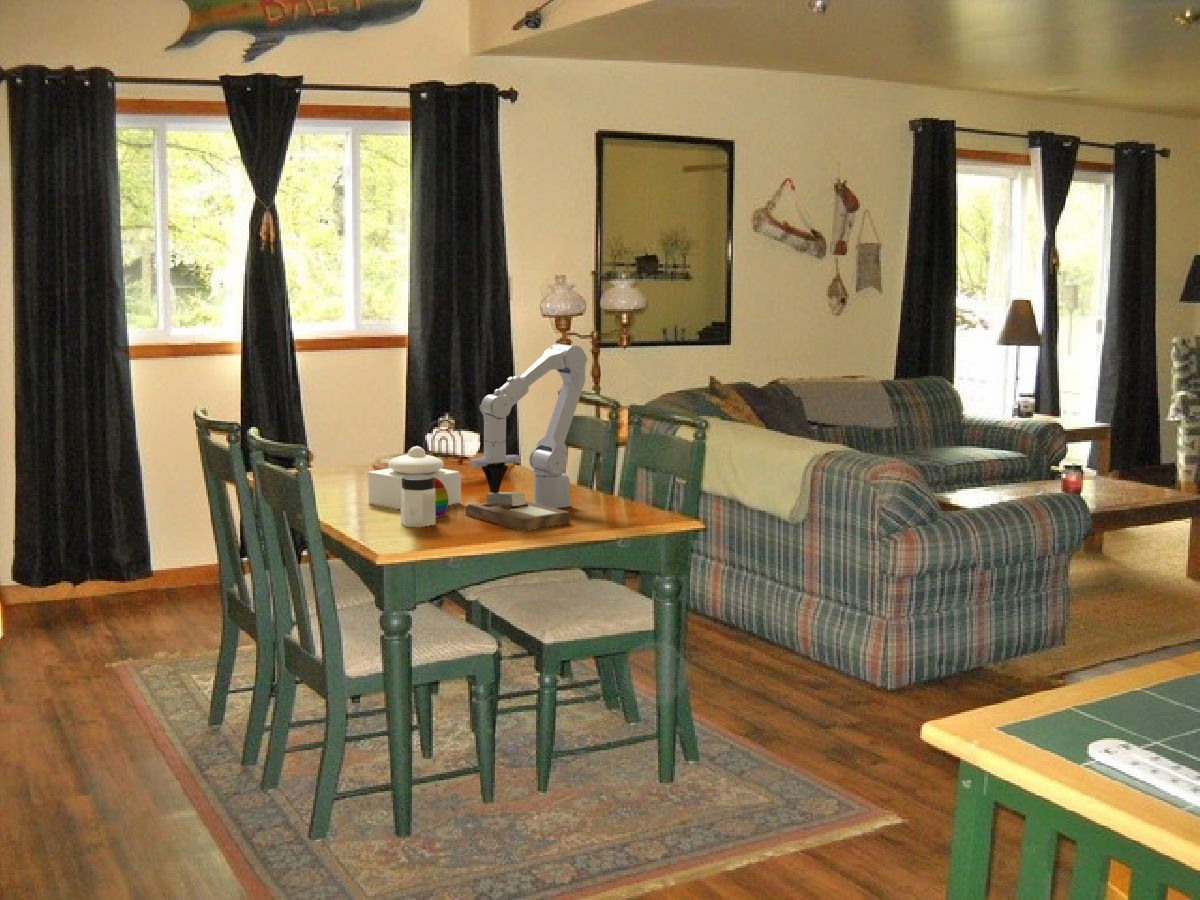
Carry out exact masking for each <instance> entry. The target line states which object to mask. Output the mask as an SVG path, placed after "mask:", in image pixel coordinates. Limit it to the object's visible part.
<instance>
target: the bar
mask: <svg viewBox="0 0 1200 900" xmlns="http://www.w3.org/2000/svg"><path fill="white" fill-rule="evenodd" d="M485 495H486V503H487V505H494V506H501V505H502V504H504V505H508V506H517V505H524V504H525V501H526V499H525V492H512V491H511V492H510V491H509V492H504V491H503V492H502V491H499V493H492V492H490V493H489V492H488V493H486V494H485Z"/></svg>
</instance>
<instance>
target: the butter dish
mask: <svg viewBox="0 0 1200 900" xmlns="http://www.w3.org/2000/svg"><path fill="white" fill-rule="evenodd" d="M387 465H388V468H383V469H377V470H371V471H367V476H368V504H369V505H372V504H374V505H373V506H377V505H380V506H379V507H382V506H385V507H384V508H387V507H390V508H389V509H392V508H396V509H395V510H397V509H400V510H399V511H401V487H402V477H403V476H406V475H415V474H422V475H431V476H433V477H435V478H437V479H439V480H440V481H441V482H442V483H443V485H444V486H445V488H446V491H447V494H448V505H449V504H455V503H460V502H462V474H461V473H460V471H458V470H451V469H447V468H446V469H445V468H444V465H445V463H444V461H443V460H442V459H440V458H439V457H436V456H433V455H429V454H426V450H425V449H424V448H423V447H421V446H419V445H416V446H412V447H411V448H410V449H408V451H407V454H403V455H399V456H396V457H394V458H391V459H390V460H389V462H388V463H387ZM460 504H461V503H460ZM455 505H456V504H455Z"/></svg>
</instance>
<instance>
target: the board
mask: <svg viewBox="0 0 1200 900" xmlns="http://www.w3.org/2000/svg"><path fill="white" fill-rule="evenodd" d="M529 506H533V507H537V508H541V509H544V510H548V511H552V512H556V513H557V514H554V515H547V516H541V517H532V516H528V515H525V514H521V513H517V512H514V511H510V509H515V508H522V507H529ZM467 515H469V516H468V517H471V516H472V517H471V518H474V517H476V518H475V519H478V518H480V519H479V520H481V519H483V520H482V521H485V520H487V521H486V522H488V521H491V522H490V523H492V522H494V523H493V524H495V523H498V524H497V525H499V524H501V525H500V526H502V525H505V526H504V527H506V526H508V527H507V528H509V527H511V528H510V529H513V528H515V529H514V530H516V529H519V530H518V531H520V530H522V531H521V532H524V531H523V530H527V531H529V530H528V529H533V530H536V529H535V528H539V529H541V528H540V527H545V528H548V527H547V526H552V527H554V526H553V525H558V526H561V525H560V524H564V525H567V524H566V523H569V524H570V511H568V510H567V511H566V510H564V509H563V510H562V509H560V508H556V509H555V508H552V507H548V506H544V505H540V504H536V503H534V502H531V501H527V500H525V504H524V505H517V506H508V505H504V504H502V505H501V506H494V505H487V502H484V503H478V504H477V503H468V504H467V505H465V516H467Z"/></svg>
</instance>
